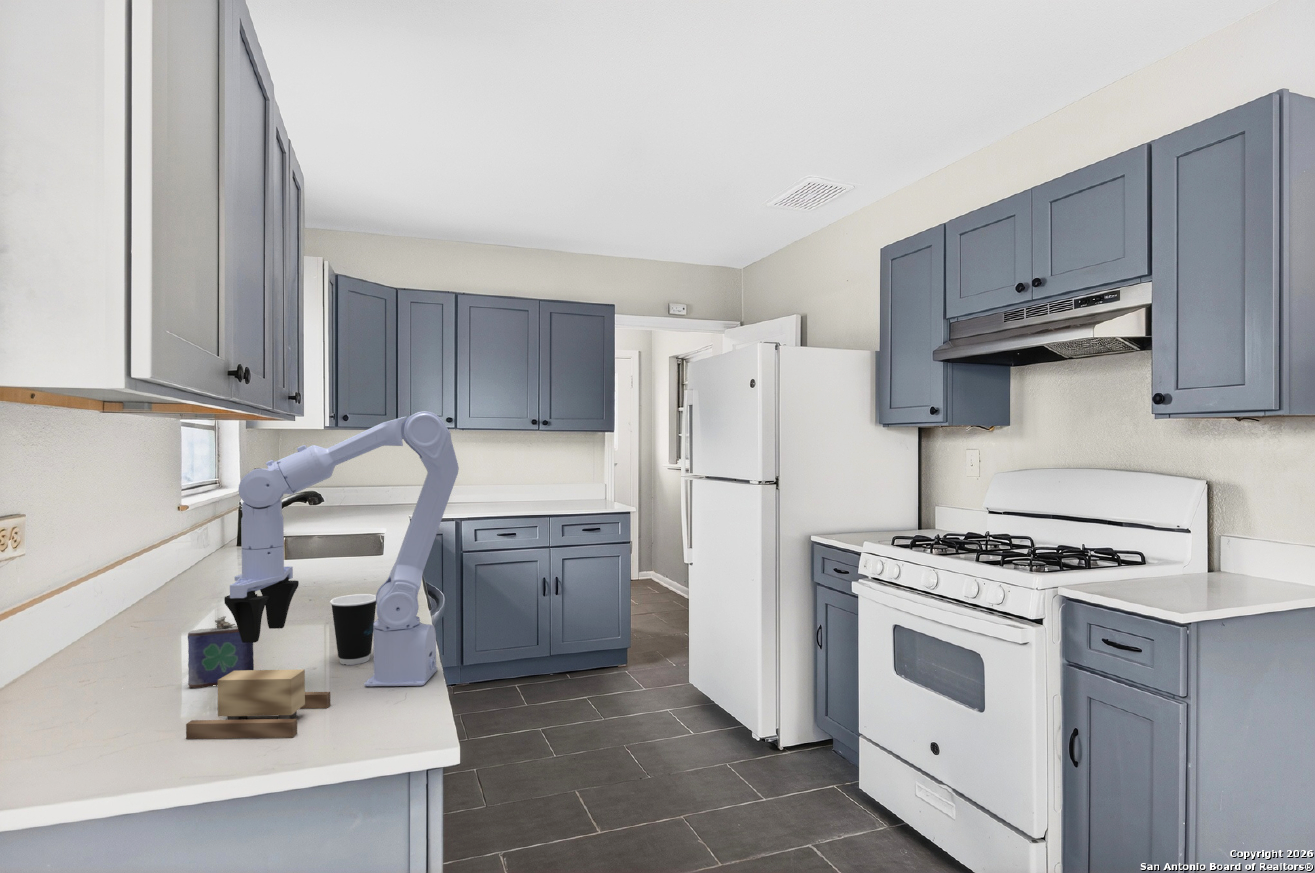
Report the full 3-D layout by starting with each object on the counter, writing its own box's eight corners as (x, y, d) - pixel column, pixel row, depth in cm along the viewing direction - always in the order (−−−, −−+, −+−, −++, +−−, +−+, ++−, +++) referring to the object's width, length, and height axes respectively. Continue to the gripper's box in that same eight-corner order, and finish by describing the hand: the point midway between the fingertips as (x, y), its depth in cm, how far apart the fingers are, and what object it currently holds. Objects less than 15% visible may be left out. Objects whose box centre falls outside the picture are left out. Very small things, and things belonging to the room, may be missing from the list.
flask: (186, 689, 114) (185, 622, 114) (191, 683, 117) (191, 617, 117) (252, 682, 117) (251, 616, 117) (255, 676, 120) (255, 612, 120)
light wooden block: (304, 704, 103) (304, 669, 103) (291, 714, 99) (291, 678, 99) (234, 705, 103) (233, 670, 103) (217, 716, 99) (217, 680, 99)
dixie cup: (383, 662, 127) (382, 599, 127) (334, 670, 123) (334, 606, 123) (373, 651, 134) (372, 591, 134) (326, 658, 129) (326, 597, 129)
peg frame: (330, 705, 107) (330, 691, 107) (292, 737, 96) (292, 722, 96) (235, 706, 107) (235, 692, 107) (186, 738, 95) (186, 723, 95)
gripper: (261, 539, 118) (262, 622, 118) (208, 554, 104) (209, 648, 104) (305, 539, 118) (306, 622, 118) (257, 554, 104) (258, 648, 104)
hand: (263, 634), depth 111 cm, fingers open, 7 cm apart
